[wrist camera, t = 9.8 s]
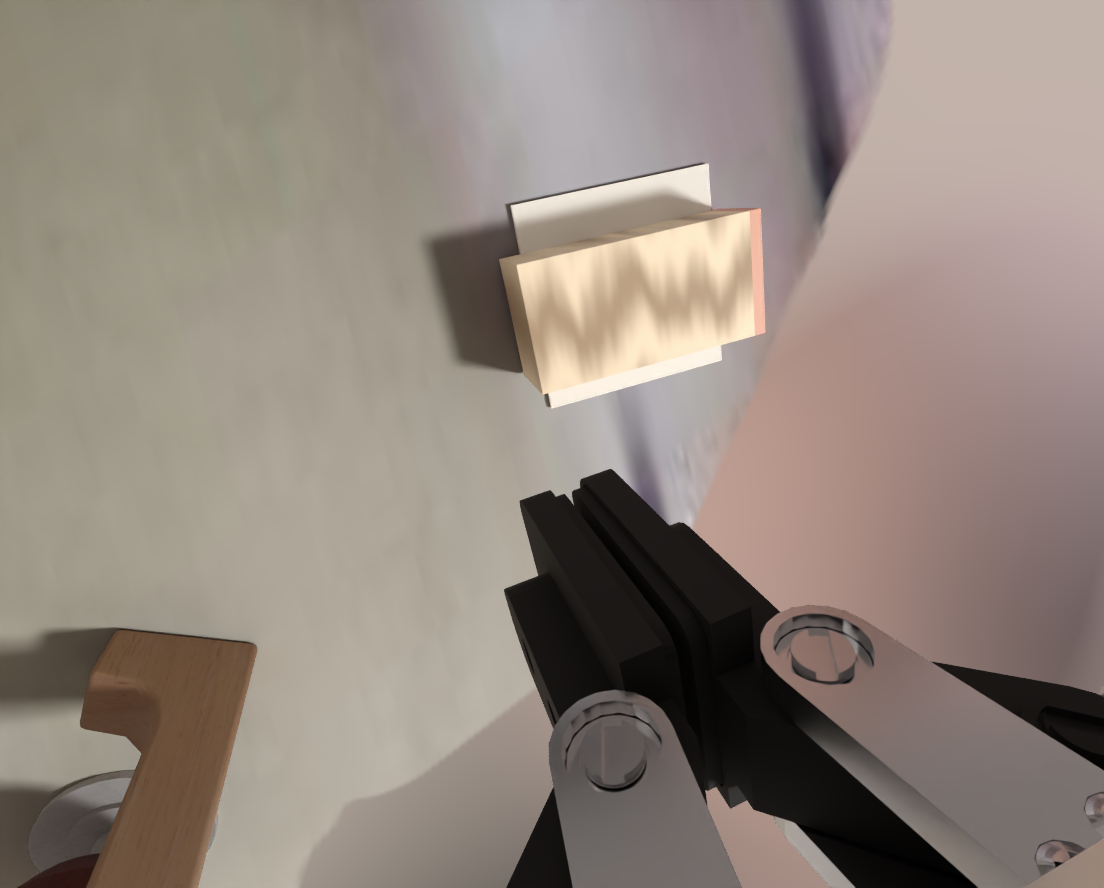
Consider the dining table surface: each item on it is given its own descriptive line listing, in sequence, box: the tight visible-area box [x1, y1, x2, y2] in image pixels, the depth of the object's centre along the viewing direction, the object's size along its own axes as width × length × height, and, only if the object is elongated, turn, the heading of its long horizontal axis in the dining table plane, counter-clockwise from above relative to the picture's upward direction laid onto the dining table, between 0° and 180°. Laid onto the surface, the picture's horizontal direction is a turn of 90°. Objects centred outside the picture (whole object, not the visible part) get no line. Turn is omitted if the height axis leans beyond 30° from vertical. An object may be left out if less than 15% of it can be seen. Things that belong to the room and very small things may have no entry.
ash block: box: [499, 208, 765, 395], centre depth 39 cm, size 8×5×16 cm
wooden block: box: [80, 630, 257, 888], centre depth 34 cm, size 9×4×18 cm, turn 69°
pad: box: [510, 164, 722, 408], centre depth 41 cm, size 14×14×1 cm
